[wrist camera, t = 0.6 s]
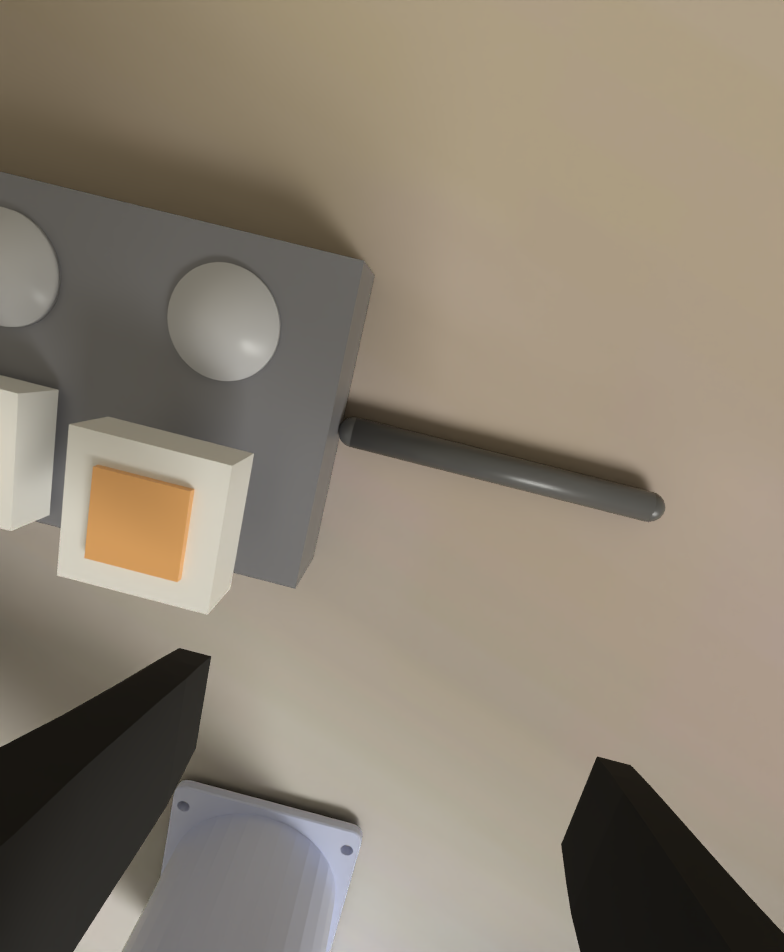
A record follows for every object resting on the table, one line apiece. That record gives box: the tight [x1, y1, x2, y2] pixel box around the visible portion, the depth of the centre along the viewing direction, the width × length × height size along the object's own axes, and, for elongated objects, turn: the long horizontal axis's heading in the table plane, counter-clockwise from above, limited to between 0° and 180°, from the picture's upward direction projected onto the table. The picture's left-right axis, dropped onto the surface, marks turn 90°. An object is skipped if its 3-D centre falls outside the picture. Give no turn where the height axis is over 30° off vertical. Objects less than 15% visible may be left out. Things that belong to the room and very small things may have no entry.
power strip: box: [0, 172, 665, 588], centre depth 16 cm, size 10×31×3 cm, turn 76°
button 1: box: [57, 417, 254, 615], centre depth 13 cm, size 4×4×2 cm
